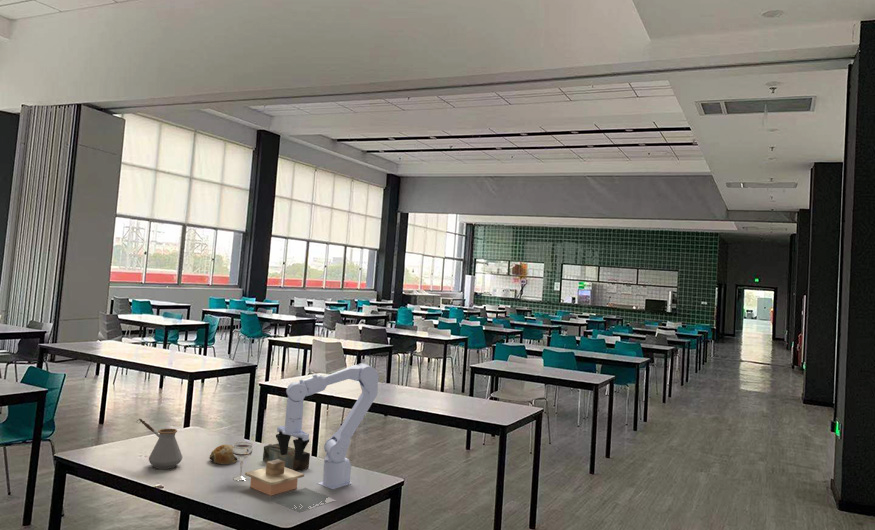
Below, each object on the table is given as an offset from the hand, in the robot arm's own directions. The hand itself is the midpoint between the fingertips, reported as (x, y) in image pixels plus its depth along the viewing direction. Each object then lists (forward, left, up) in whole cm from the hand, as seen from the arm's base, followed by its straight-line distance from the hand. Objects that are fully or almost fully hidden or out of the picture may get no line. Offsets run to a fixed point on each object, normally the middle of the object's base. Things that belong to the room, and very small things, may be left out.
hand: (290, 457), depth 219 cm
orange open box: (+5, -2, -10) cm, 12 cm away
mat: (+5, +13, -10) cm, 17 cm away
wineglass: (+7, -18, -11) cm, 22 cm away
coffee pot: (+20, -52, -11) cm, 57 cm away
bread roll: (-1, -39, -11) cm, 41 cm away
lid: (+5, -2, -6) cm, 8 cm away
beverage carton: (-16, -21, -11) cm, 29 cm away
